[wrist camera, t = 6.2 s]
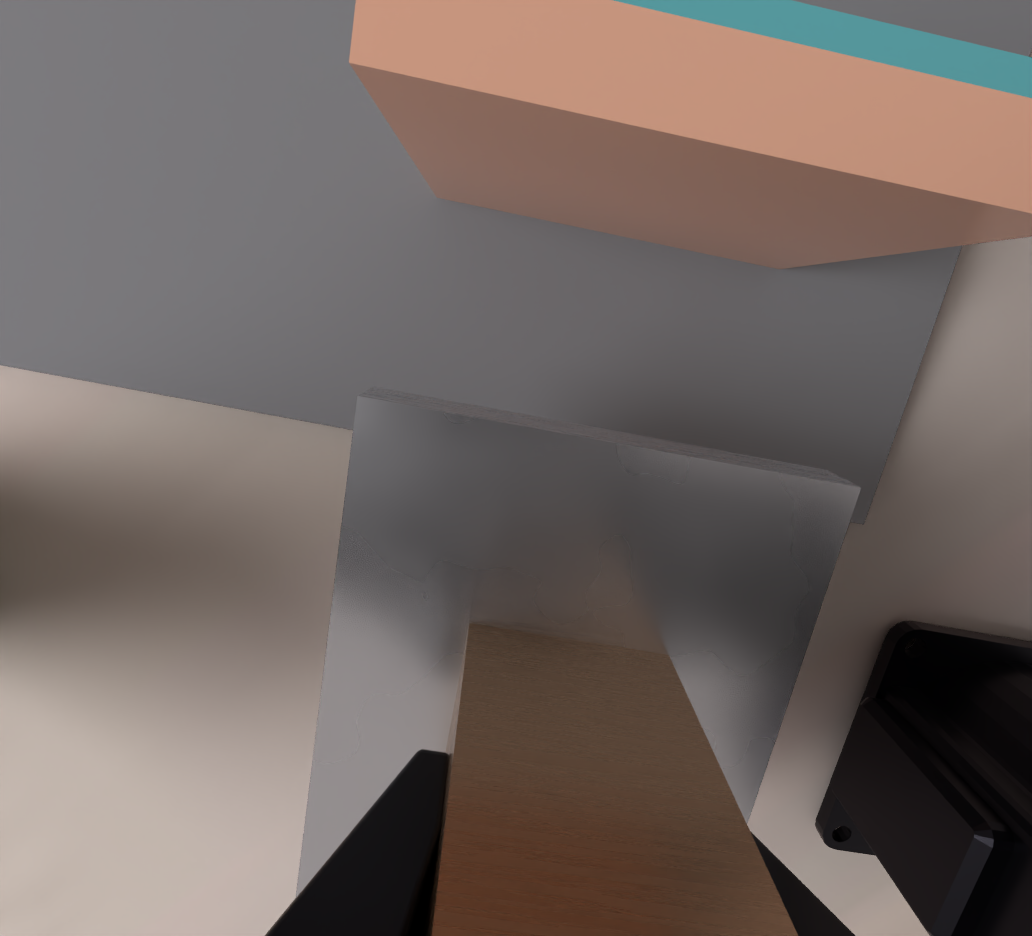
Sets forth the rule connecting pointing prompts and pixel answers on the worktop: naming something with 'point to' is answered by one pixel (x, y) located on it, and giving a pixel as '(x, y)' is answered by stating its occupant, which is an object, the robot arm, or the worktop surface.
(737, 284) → the mat
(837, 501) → the brown block on base
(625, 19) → the tile
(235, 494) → the worktop surface
